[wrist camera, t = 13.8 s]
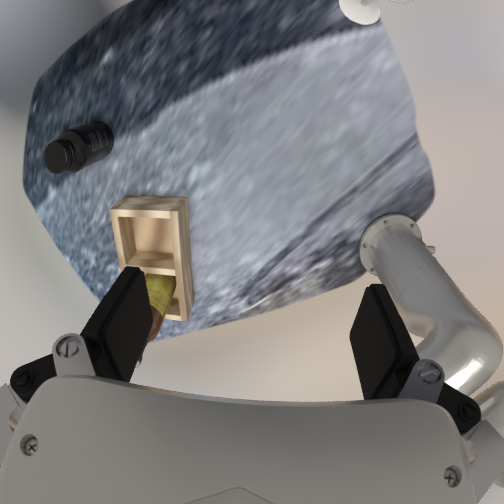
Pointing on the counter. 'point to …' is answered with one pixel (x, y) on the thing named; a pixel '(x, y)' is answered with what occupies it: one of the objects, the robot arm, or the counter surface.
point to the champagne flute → (363, 10)
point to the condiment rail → (157, 243)
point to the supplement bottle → (78, 148)
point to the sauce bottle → (158, 302)
